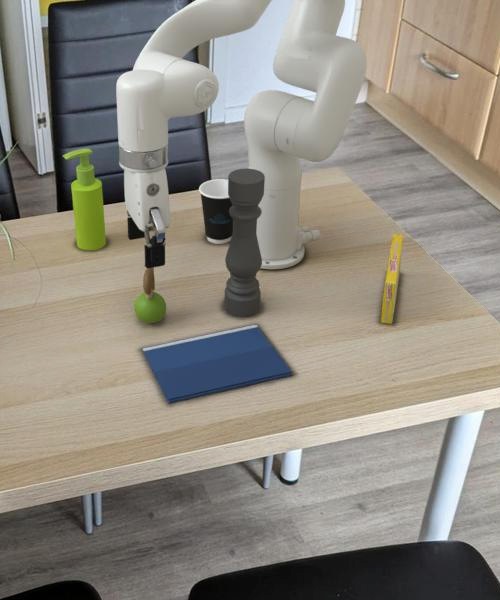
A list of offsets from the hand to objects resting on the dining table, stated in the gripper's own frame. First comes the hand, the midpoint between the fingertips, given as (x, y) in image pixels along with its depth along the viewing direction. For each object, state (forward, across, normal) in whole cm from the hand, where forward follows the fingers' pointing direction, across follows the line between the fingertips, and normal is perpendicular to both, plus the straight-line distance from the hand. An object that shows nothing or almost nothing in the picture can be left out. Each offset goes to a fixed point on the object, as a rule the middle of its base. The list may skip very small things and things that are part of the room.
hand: (146, 251), depth 136 cm
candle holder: (+14, -2, -17) cm, 22 cm away
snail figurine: (+14, 0, -1) cm, 14 cm away
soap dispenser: (+14, +29, +3) cm, 33 cm away
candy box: (+13, -8, -42) cm, 44 cm away
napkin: (+14, -15, -7) cm, 21 cm away
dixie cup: (+13, +22, -22) cm, 34 cm away
